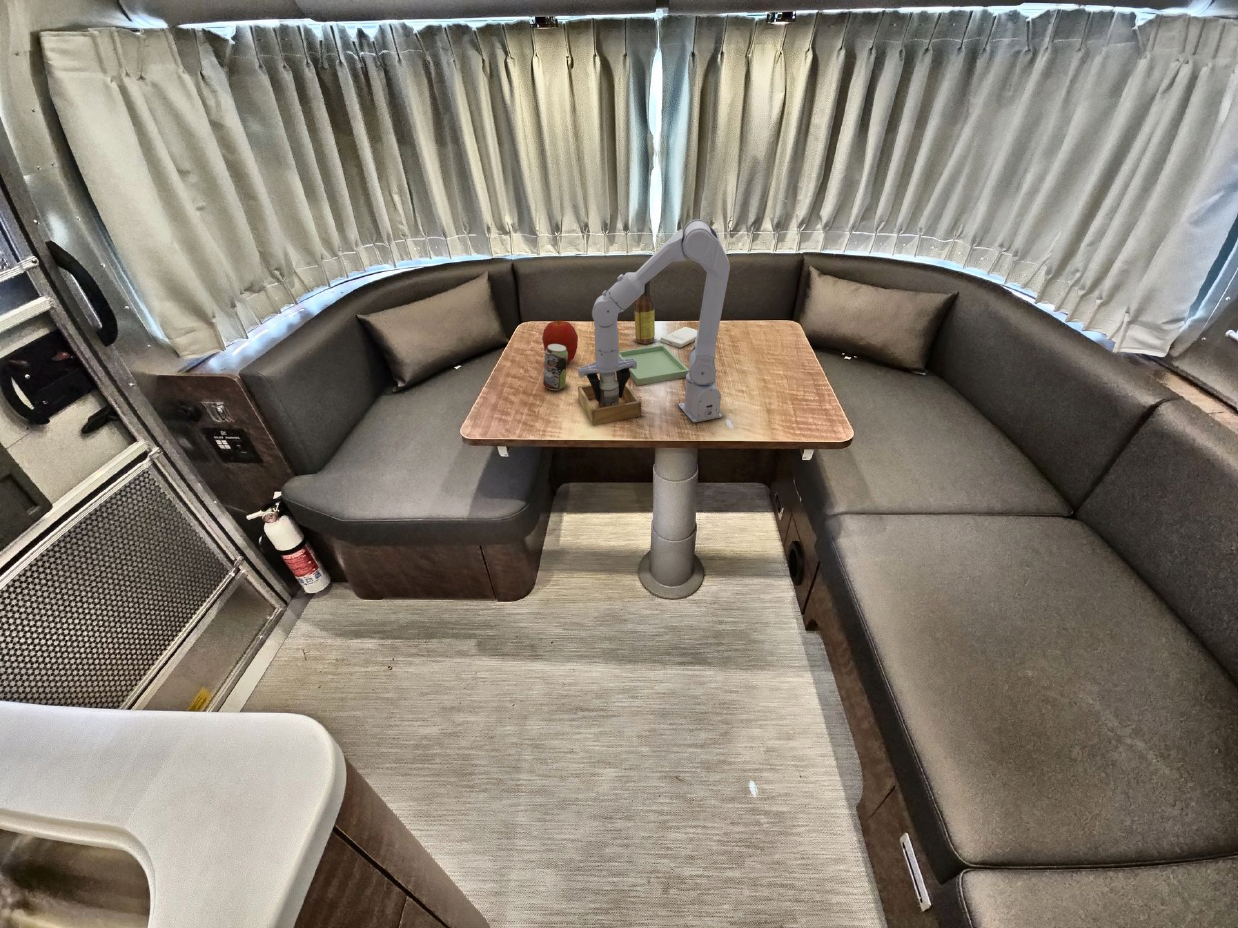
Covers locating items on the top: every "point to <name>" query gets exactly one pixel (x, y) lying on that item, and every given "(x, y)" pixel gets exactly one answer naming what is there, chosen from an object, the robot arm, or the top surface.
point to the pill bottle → (608, 390)
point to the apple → (561, 337)
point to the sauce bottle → (644, 317)
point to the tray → (654, 364)
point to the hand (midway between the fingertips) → (608, 397)
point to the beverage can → (555, 366)
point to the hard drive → (680, 337)
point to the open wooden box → (609, 412)
